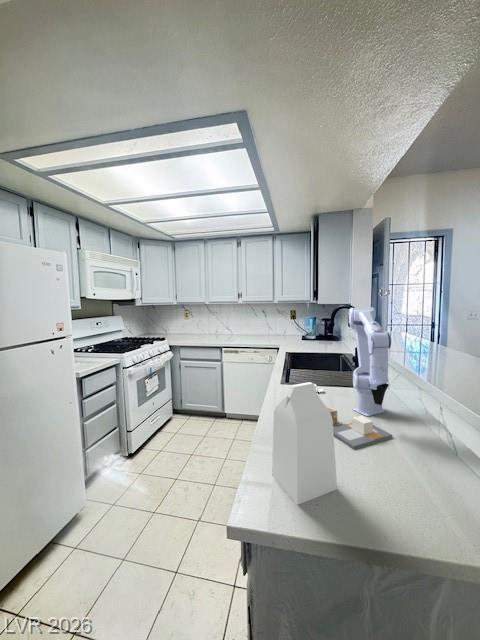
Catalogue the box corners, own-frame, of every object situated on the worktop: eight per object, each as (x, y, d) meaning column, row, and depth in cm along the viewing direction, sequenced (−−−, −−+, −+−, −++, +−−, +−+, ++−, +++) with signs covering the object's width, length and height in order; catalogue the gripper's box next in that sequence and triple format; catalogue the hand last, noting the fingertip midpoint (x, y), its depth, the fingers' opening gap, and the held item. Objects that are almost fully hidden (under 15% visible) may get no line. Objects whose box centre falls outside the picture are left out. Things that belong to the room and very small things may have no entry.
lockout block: (330, 419, 105) (330, 406, 105) (337, 423, 101) (337, 410, 101) (321, 421, 104) (321, 408, 103) (328, 425, 100) (328, 412, 100)
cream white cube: (361, 426, 96) (361, 415, 96) (372, 432, 91) (372, 421, 91) (352, 428, 94) (352, 417, 94) (363, 435, 90) (363, 423, 90)
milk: (297, 504, 62) (295, 395, 60) (272, 475, 72) (270, 381, 71) (337, 489, 67) (337, 387, 65) (308, 463, 77) (307, 375, 75)
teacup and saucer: (325, 392, 136) (325, 384, 136) (318, 396, 130) (318, 388, 130) (309, 389, 142) (309, 381, 141) (302, 393, 136) (302, 385, 135)
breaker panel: (363, 422, 101) (363, 420, 101) (392, 437, 90) (392, 434, 90) (327, 432, 95) (327, 429, 95) (353, 449, 84) (353, 446, 84)
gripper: (372, 360, 102) (372, 395, 103) (360, 369, 91) (360, 407, 92) (393, 363, 97) (392, 399, 98) (383, 372, 87) (382, 412, 88)
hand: (378, 403), depth 95 cm, fingers closed
